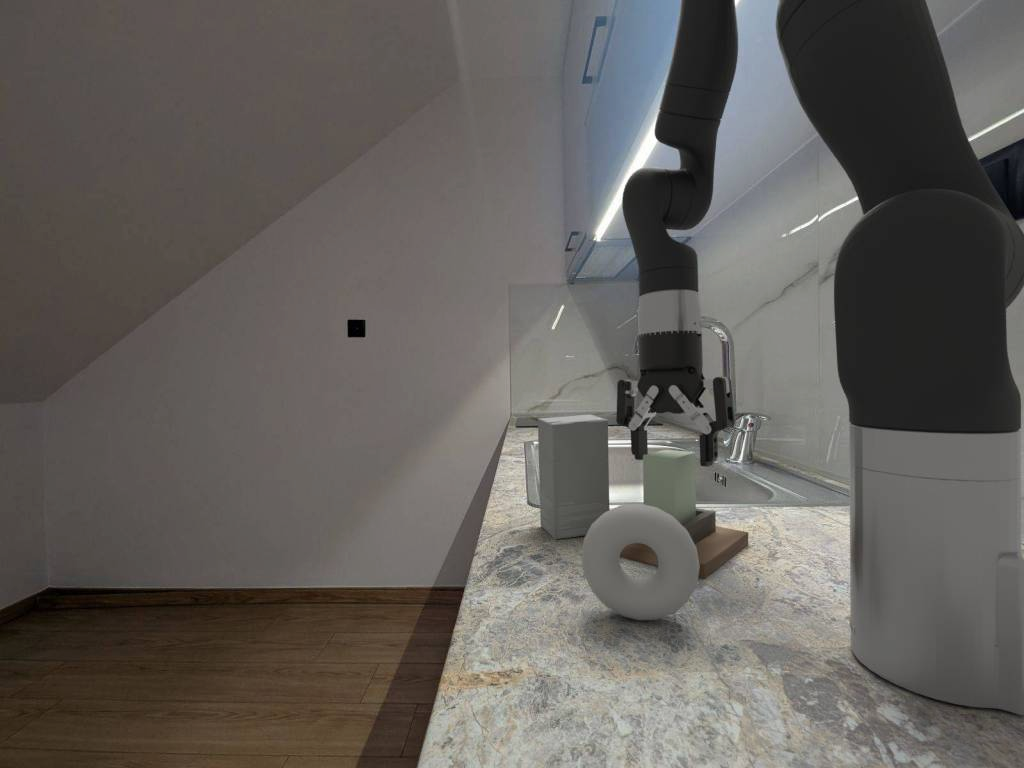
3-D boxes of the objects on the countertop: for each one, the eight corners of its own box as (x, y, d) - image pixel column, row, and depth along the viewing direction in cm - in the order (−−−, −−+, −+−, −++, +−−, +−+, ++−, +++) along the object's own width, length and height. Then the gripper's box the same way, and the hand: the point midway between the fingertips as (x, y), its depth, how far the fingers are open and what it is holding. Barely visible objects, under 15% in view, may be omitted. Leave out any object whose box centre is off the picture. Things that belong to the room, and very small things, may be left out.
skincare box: (591, 521, 72) (590, 413, 72) (613, 536, 65) (612, 417, 65) (536, 526, 70) (535, 415, 70) (553, 542, 63) (552, 419, 63)
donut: (698, 615, 43) (697, 502, 43) (702, 635, 40) (701, 512, 40) (584, 603, 46) (583, 496, 46) (579, 620, 42) (578, 505, 42)
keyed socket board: (748, 544, 61) (748, 512, 61) (704, 578, 51) (704, 540, 51) (645, 522, 71) (645, 495, 71) (591, 548, 60) (590, 516, 60)
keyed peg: (675, 543, 57) (674, 458, 57) (643, 536, 60) (643, 455, 60) (696, 531, 62) (695, 452, 62) (666, 525, 64) (665, 449, 64)
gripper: (603, 335, 63) (606, 461, 63) (715, 323, 53) (719, 472, 53) (633, 338, 68) (636, 454, 68) (739, 328, 58) (743, 463, 58)
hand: (672, 462), depth 61 cm, fingers open, 8 cm apart
